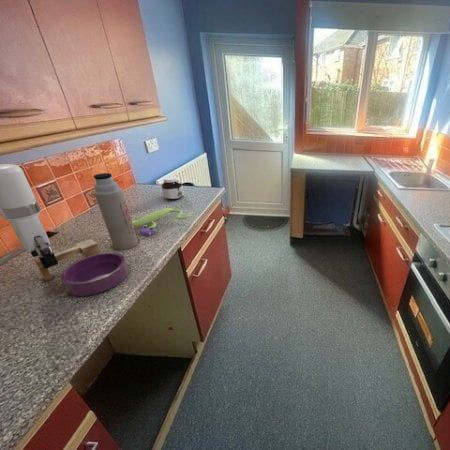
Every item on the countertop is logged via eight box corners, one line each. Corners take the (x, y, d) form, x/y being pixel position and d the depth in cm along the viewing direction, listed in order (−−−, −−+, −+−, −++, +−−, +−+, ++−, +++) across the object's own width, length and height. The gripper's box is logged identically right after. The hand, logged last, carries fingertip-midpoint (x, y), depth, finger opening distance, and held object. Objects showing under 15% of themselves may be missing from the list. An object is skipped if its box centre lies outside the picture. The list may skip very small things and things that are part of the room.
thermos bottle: (142, 239, 101) (121, 171, 88) (130, 250, 94) (106, 178, 81) (122, 238, 101) (98, 170, 88) (109, 249, 94) (81, 177, 81)
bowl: (81, 305, 70) (74, 291, 67) (59, 283, 77) (52, 270, 75) (138, 275, 82) (134, 263, 79) (115, 259, 89) (110, 247, 86)
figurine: (199, 223, 115) (197, 212, 112) (132, 241, 99) (128, 229, 97) (185, 209, 127) (183, 199, 125) (124, 224, 112) (120, 212, 109)
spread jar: (170, 202, 134) (165, 181, 129) (158, 197, 139) (153, 177, 134) (189, 196, 144) (186, 176, 138) (177, 191, 149) (173, 172, 143)
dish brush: (48, 283, 77) (37, 265, 74) (42, 277, 79) (32, 259, 76) (103, 259, 88) (97, 243, 85) (97, 255, 90) (90, 238, 87)
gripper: (-8, 205, 70) (19, 255, 78) (10, 223, 62) (39, 277, 70) (28, 198, 76) (50, 245, 84) (49, 214, 68) (72, 264, 76)
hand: (45, 260), depth 77 cm, fingers open, 9 cm apart
